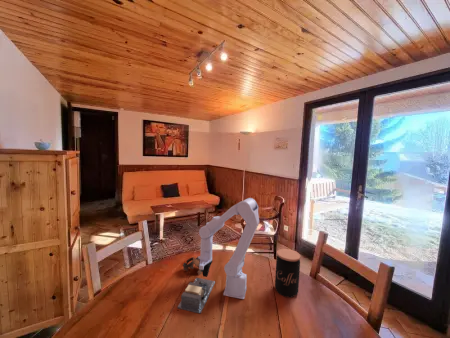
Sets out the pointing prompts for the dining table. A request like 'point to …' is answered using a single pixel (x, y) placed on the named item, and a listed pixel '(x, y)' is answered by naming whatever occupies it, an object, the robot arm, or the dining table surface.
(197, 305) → the vise
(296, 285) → the coffee jar
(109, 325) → the dining table surface
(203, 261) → the robot arm
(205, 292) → the jaw
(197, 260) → the pottery mug
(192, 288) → the block
